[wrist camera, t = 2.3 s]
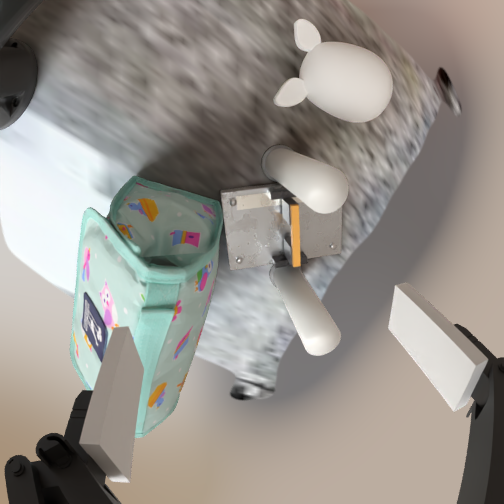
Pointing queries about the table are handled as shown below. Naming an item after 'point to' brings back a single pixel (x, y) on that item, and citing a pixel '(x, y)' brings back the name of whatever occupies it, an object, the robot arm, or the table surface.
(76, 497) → the robot arm
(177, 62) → the table surface
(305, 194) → the off-white domed rod
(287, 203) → the orange-faced thin slab
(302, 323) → the white tapered rounded cylinder
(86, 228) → the lunch bag
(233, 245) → the plate
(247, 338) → the table surface
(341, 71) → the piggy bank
